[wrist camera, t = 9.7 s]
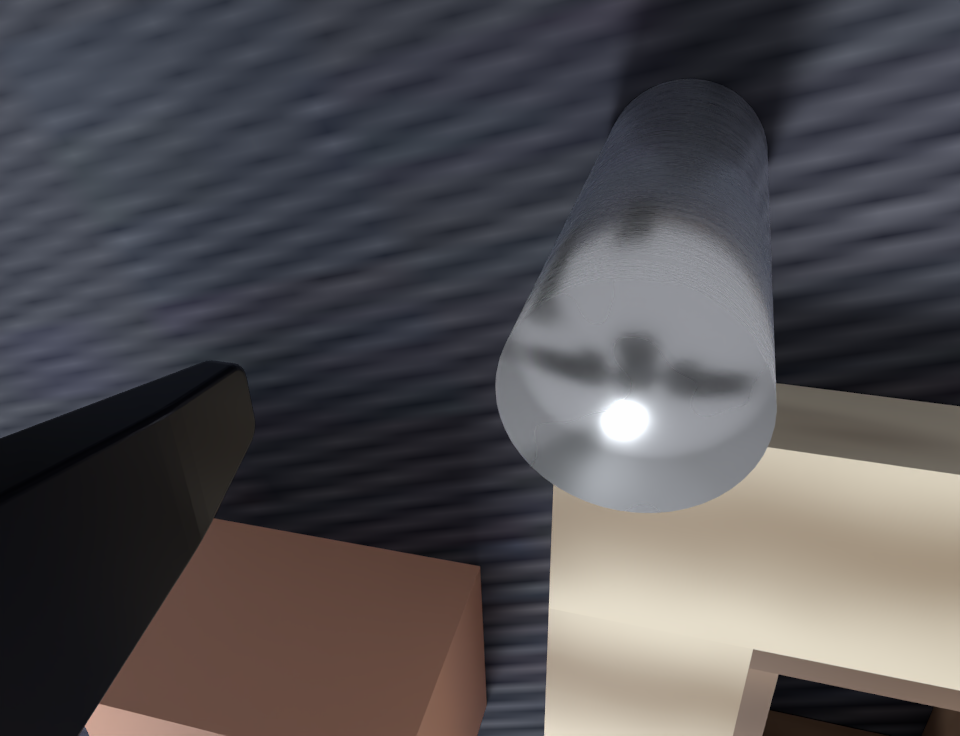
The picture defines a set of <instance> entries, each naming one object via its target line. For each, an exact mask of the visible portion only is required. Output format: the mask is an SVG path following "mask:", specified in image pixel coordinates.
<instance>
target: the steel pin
mask: <svg viewBox="0 0 960 736" xmlns="http://www.w3.org/2000/svg"><path fill="white" fill-rule="evenodd" d="M495 389H496V401H497V406H498V410H499V414H500V418H501V420H502V423H503V425H504V428H505V430H506V432H507V434H508V436H509V438H510V440H511V441H512V443H513V445H514V446H515V447H516V449H517V450H518V452H519V453H520V454H521V456H522V457H523V458H524V459H525V460H526V461H527V462H528V463H529V464H530V466H531V467H532V468H533V469H535V470H536V471H537V472H538V473H539V474H540V475H541V476H543V477H544V478H545V479H547V480H548V481H549V482H551V483H552V484H554V485H555V486H556V487H558V488H560V489H562V490H563V491H565V492H567V493H569V494H571V495H572V496H575V497H577V498H579V499H582V500H584V501H586V502H589V503H592V504H595V505H598V506H601V507H605V508H610V509H614V510H619V511H626V512H635V513H661V512H671V511H677V510H682V509H687V508H690V507H694V506H697V505H700V504H703V503H705V502H708V501H710V500H712V499H715V498H717V497H719V496H720V495H722V494H724V493H725V492H727V491H729V490H731V489H732V488H733V487H735V486H736V485H737V484H738V483H740V482H741V481H742V480H743V479H744V478H745V477H746V476H747V475H748V474H749V473H750V472H751V471H752V470H753V469H754V468H755V467H756V465H757V464H758V462H759V461H760V460H761V458H762V457H763V455H764V453H765V451H766V449H767V447H768V445H769V443H770V441H771V438H772V434H773V431H774V427H775V421H776V413H777V402H776V374H775V345H774V317H773V289H772V260H771V232H770V204H769V176H768V149H767V140H766V135H765V132H764V129H763V126H762V124H761V122H760V120H759V118H758V116H757V114H756V113H755V111H754V110H753V109H752V107H751V106H750V105H749V104H748V103H747V102H746V101H745V100H744V99H743V98H742V97H741V96H739V95H738V94H737V93H736V92H734V91H732V90H731V89H729V88H727V87H725V86H723V85H720V84H718V83H715V82H711V81H707V80H701V79H679V80H672V81H669V82H665V83H662V84H659V85H657V86H654V87H652V88H650V89H648V90H647V91H645V92H643V93H642V94H640V95H639V96H638V97H636V98H635V99H634V100H633V101H632V102H631V103H630V104H629V105H628V106H627V107H626V108H625V109H624V110H623V112H622V113H621V114H620V116H619V117H618V119H617V120H616V122H615V124H614V126H613V128H612V130H611V132H610V134H609V136H608V138H607V140H606V142H605V144H604V146H603V148H602V150H601V152H600V154H599V156H598V158H597V160H596V162H595V164H594V166H593V168H592V170H591V172H590V174H589V176H588V178H587V180H586V182H585V184H584V186H583V188H582V190H581V192H580V194H579V196H578V198H577V200H576V202H575V204H574V206H573V209H572V211H571V213H570V215H569V217H568V219H567V221H566V223H565V225H564V227H563V229H562V231H561V233H560V235H559V237H558V239H557V241H556V243H555V245H554V247H553V249H552V251H551V253H550V255H549V257H548V259H547V261H546V263H545V265H544V267H543V269H542V271H541V273H540V275H539V277H538V279H537V281H536V283H535V285H534V287H533V289H532V291H531V293H530V295H529V297H528V299H527V301H526V304H525V306H524V308H523V310H522V312H521V314H520V316H519V318H518V320H517V322H516V324H515V326H514V328H513V330H512V332H511V334H510V336H509V338H508V340H507V342H506V344H505V346H504V349H503V351H502V354H501V356H500V359H499V363H498V368H497V372H496V386H495Z"/></svg>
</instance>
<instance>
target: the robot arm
mask: <svg viewBox="0 0 960 736" xmlns="http://www.w3.org/2000/svg"><path fill="white" fill-rule="evenodd" d="M254 431H255V417H254V412H253V407H252V402H251V397H250V392H249V387H248V382H247V377H246V374H245V371H244V370H243V368H242V367H241V366H239V365H238V364H233V363H226V362H220V361H212V360H211V361H205V362H202V363H199V364H197V365H194V366H191V367H189V368H186V369H183V370H181V371H178V372H176V373H173V374H170V375H168V376H165V377H162V378H160V379H157V380H154V381H152V382H149V383H146V384H144V385H141V386H138V387H136V388H133V389H130V390H128V391H125V392H122V393H120V394H117V395H114V396H112V397H109V398H106V399H104V400H101V401H98V402H96V403H93V404H91V405H88V406H85V407H83V408H80V409H77V410H75V411H72V412H69V413H67V414H64V415H61V416H59V417H56V418H53V419H51V420H48V421H45V422H43V423H40V424H37V425H35V426H32V427H29V428H27V429H24V430H21V431H19V432H16V433H14V434H11V435H8V436H6V437H3V438H0V736H79V734H80V733H81V731H82V730H83V728H84V727H85V725H86V723H87V722H88V720H89V719H90V717H91V716H92V714H93V712H94V711H95V709H96V708H97V706H98V705H99V703H100V701H101V700H102V698H103V697H104V695H105V694H106V692H107V690H108V689H109V687H110V686H111V684H112V683H113V681H114V679H115V678H116V676H117V675H118V673H119V672H120V670H121V668H122V667H123V665H124V664H125V662H126V660H127V659H128V657H129V656H130V654H131V653H132V651H133V649H134V648H135V646H136V645H137V643H138V642H139V640H140V638H141V637H142V635H143V634H144V632H145V631H146V629H147V627H148V626H149V624H150V623H151V621H152V620H153V618H154V616H155V615H156V613H157V612H158V610H159V609H160V607H161V605H162V604H163V602H164V601H165V599H166V598H167V596H168V594H169V593H170V591H171V590H172V588H173V586H174V585H175V583H176V582H177V580H178V579H179V577H180V575H181V574H182V572H183V571H184V569H185V568H186V566H187V564H188V563H189V561H190V560H191V558H192V556H193V555H194V553H195V551H196V550H197V548H198V546H199V545H200V543H201V541H202V540H203V538H204V536H205V534H206V532H207V530H208V528H209V527H210V525H211V523H212V521H213V519H214V517H215V515H216V513H217V511H218V509H219V506H220V504H221V502H222V500H223V498H224V496H225V494H226V492H227V490H228V488H229V486H230V484H231V482H232V480H233V478H234V476H235V474H236V472H237V470H238V468H239V466H240V464H241V462H242V460H243V458H244V456H245V454H246V452H247V450H248V448H249V446H250V443H251V441H252V439H253V435H254Z"/></svg>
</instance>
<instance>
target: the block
mask: <svg viewBox="0 0 960 736" xmlns="http://www.w3.org/2000/svg"><path fill="white" fill-rule="evenodd" d="M486 705H487V699H486V678H485V657H484V636H483V615H482V594H481V573H480V566H475V565H470V564H464V563H459V562H453V561H448V560H442V559H437V558H431V557H426V556H420V555H414V554H409V553H403V552H398V551H392V550H387V549H381V548H376V547H370V546H365V545H359V544H353V543H348V542H342V541H337V540H331V539H326V538H320V537H315V536H309V535H304V534H298V533H292V532H287V531H281V530H276V529H270V528H265V527H259V526H254V525H248V524H243V523H237V522H231V521H226V520H220V519H215V518H214V519H213V521H212V523H211V525H210V527H209V528H208V530H207V532H206V534H205V536H204V538H203V540H202V541H201V543H200V545H199V546H198V548H197V550H196V551H195V553H194V555H193V556H192V558H191V560H190V561H189V563H188V564H187V566H186V568H185V569H184V571H183V572H182V574H181V575H180V577H179V579H178V580H177V582H176V583H175V585H174V586H173V588H172V590H171V591H170V593H169V594H168V596H167V598H166V599H165V601H164V602H163V604H162V605H161V607H160V609H159V610H158V612H157V613H156V615H155V616H154V618H153V620H152V621H151V623H150V624H149V626H148V627H147V629H146V631H145V632H144V634H143V635H142V637H141V638H140V640H139V642H138V643H137V645H136V646H135V648H134V649H133V651H132V653H131V654H130V656H129V657H128V659H127V660H126V662H125V664H124V665H123V667H122V668H121V670H120V672H119V673H118V675H117V676H116V678H115V679H114V681H113V683H112V684H111V686H110V687H109V689H108V690H107V692H106V694H105V695H104V697H103V698H102V700H101V701H100V703H99V705H98V706H97V708H96V709H95V711H94V712H93V714H92V716H91V717H90V719H89V720H88V722H87V723H86V725H85V727H86V729H87V731H88V733H89V736H477V734H478V731H479V728H480V725H481V721H482V718H483V715H484V712H485V709H486Z"/></svg>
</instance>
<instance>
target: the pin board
mask: <svg viewBox="0 0 960 736" xmlns="http://www.w3.org/2000/svg"><path fill="white" fill-rule="evenodd" d="M776 402H777V413H776V421H775V427H774V431H773V434H772V438H771V441H770V443H769V445H768V447H767V449H766V451H765V453H764V455H763V457H762V458H761V460H760V461H759V462H758V464H757V465H756V467H755V468H754V469H753V470H752V471H751V472H750V473H749V474H748V475H747V476H746V477H745V478H744V479H743V480H742V481H741V482H740V483H738V484H737V485H736V486H735V487H733V488H732V489H731V490H729V491H727V492H725V493H724V494H722V495H720V496H719V497H717V498H715V499H712V500H710V501H708V502H705V503H703V504H700V505H697V506H694V507H690V508H687V509H682V510H677V511H671V512H661V513H635V512H626V511H619V510H614V509H610V508H605V507H601V506H598V505H595V504H592V503H589V502H586V501H584V500H582V499H579V498H577V497H575V496H572V495H571V494H569V493H567V492H565V491H563V490H562V489H560V488H558V487H556V486H555V485H554V484H553V511H552V538H551V566H550V593H549V621H548V648H547V676H546V703H545V730H544V736H887V735H882V734H877V733H873V732H868V731H863V730H859V729H854V728H850V727H845V726H840V725H836V724H831V723H826V722H822V721H817V720H813V719H808V718H803V717H799V716H794V715H789V714H785V713H780V712H776V711H771V710H769V709H770V705H771V701H772V697H773V694H774V690H775V686H776V682H777V679H778V675H784V676H789V677H794V678H799V679H804V680H809V681H813V682H818V683H823V684H828V685H833V686H838V687H843V688H847V689H852V690H857V691H862V692H867V693H872V694H877V695H881V696H886V697H891V698H896V699H901V700H906V701H911V702H915V703H920V704H925V705H930V706H934V708H933V710H932V713H931V715H930V717H929V720H928V722H927V724H926V727H925V729H924V731H923V733H922V736H960V406H953V405H945V404H937V403H929V402H921V401H913V400H906V399H898V398H890V397H882V396H874V395H866V394H858V393H850V392H842V391H835V390H827V389H819V388H811V387H803V386H795V385H787V384H779V383H776Z"/></svg>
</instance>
